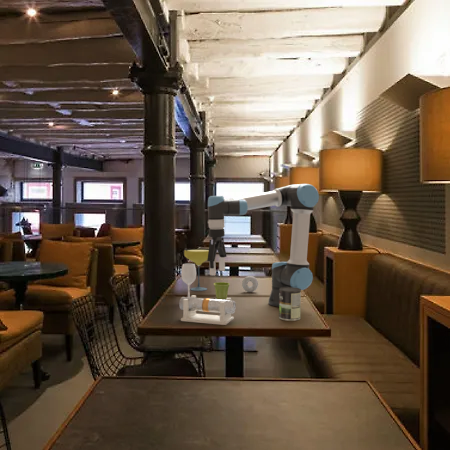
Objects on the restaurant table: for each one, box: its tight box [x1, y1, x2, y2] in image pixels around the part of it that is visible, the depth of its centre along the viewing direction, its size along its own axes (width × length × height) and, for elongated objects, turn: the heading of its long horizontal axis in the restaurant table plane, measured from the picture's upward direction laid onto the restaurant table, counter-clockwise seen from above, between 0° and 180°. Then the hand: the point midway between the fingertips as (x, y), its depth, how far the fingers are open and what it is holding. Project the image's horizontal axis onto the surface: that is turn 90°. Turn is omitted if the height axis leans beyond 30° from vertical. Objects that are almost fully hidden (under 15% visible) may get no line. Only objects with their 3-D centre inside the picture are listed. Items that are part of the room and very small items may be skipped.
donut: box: [241, 275, 259, 293], centre depth 298 cm, size 10×4×10 cm, turn 88°
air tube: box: [178, 296, 237, 315], centre depth 229 cm, size 26×6×6 cm, turn 71°
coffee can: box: [278, 287, 302, 322], centre depth 232 cm, size 10×10×14 cm
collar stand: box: [180, 294, 235, 326], centre depth 229 cm, size 22×12×10 cm, turn 71°
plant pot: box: [213, 281, 230, 300], centre depth 278 cm, size 9×9×9 cm
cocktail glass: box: [183, 248, 209, 292], centre depth 306 cm, size 18×18×25 cm
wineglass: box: [180, 263, 197, 297], centre depth 268 cm, size 9×9×21 cm
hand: (217, 272), depth 232 cm, fingers open, 13 cm apart
